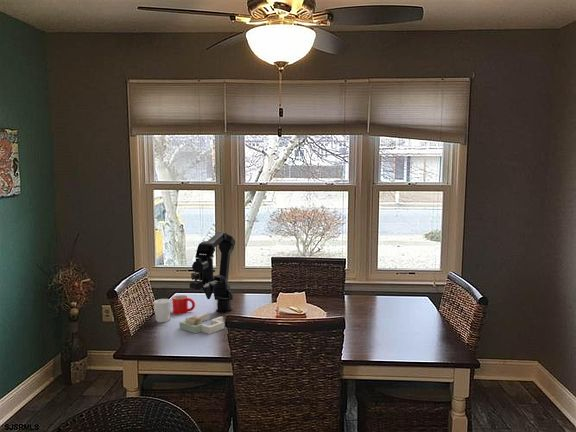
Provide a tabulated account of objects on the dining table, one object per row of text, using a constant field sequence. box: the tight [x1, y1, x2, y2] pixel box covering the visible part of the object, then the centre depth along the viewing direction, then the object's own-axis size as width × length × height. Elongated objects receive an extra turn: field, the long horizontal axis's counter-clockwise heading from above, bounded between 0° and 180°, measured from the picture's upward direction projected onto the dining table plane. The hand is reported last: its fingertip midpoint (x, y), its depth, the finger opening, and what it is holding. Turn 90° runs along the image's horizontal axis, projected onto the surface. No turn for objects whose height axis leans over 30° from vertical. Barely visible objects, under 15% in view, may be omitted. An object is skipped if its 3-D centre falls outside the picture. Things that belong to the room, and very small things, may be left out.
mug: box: [171, 294, 196, 315], centre depth 261 cm, size 8×12×8 cm, turn 85°
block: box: [185, 315, 202, 326], centre depth 236 cm, size 5×5×5 cm
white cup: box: [153, 298, 171, 323], centre depth 248 cm, size 8×8×10 cm
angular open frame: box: [179, 312, 225, 335], centre depth 238 cm, size 18×18×3 cm
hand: (208, 298), depth 243 cm, fingers closed
